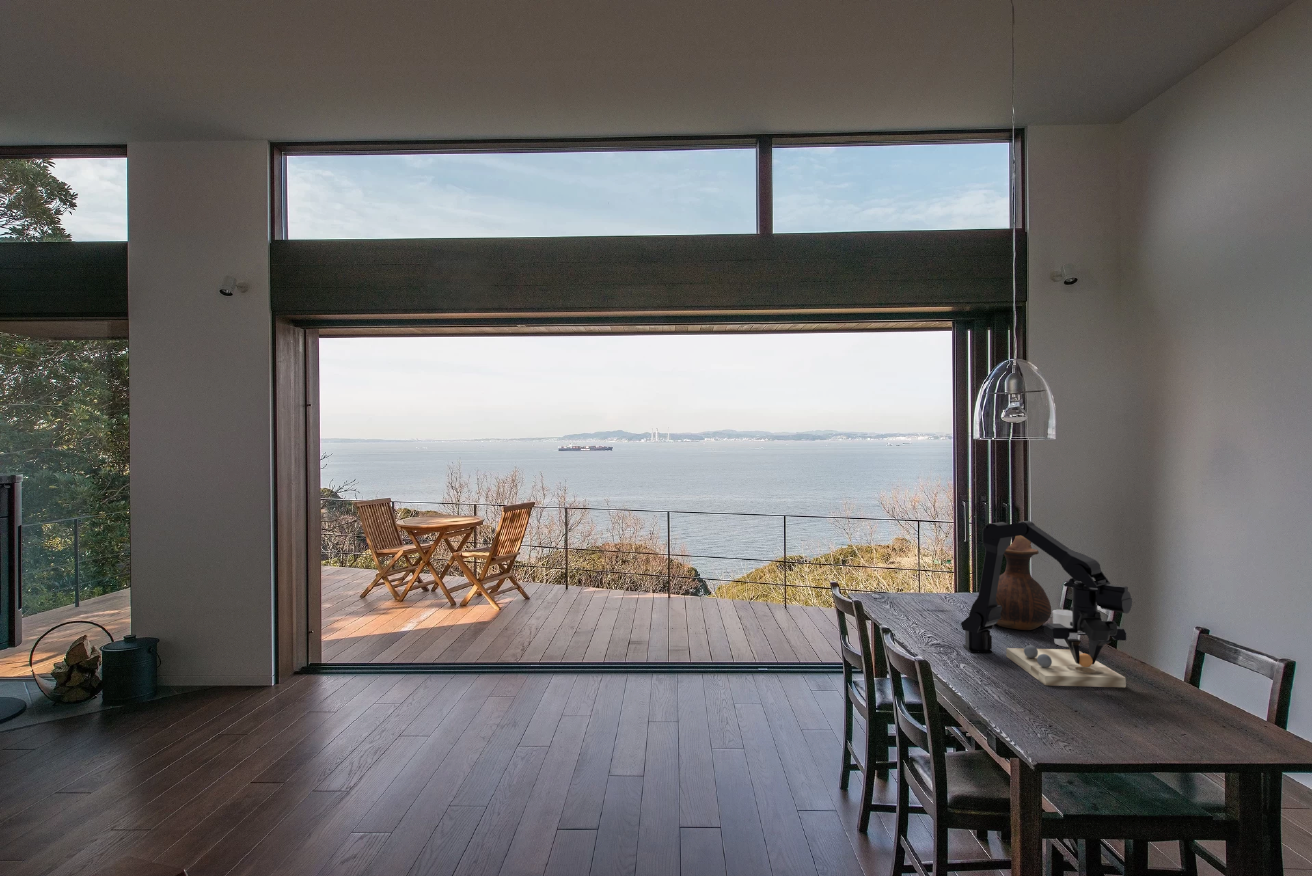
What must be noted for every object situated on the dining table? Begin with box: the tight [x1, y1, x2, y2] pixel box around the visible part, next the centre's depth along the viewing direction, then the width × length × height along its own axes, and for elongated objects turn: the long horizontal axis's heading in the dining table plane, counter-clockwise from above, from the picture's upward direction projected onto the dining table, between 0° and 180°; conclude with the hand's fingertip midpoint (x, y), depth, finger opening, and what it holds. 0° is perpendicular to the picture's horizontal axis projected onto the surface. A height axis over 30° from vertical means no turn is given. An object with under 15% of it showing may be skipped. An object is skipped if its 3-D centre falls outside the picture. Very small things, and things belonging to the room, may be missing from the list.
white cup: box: [1051, 609, 1082, 648], centre depth 218 cm, size 8×8×10 cm
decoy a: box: [1024, 644, 1038, 658], centre depth 196 cm, size 4×4×4 cm
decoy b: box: [1037, 654, 1052, 668], centre depth 188 cm, size 4×4×4 cm
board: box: [1005, 647, 1127, 688], centre depth 193 cm, size 20×24×2 cm
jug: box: [995, 535, 1052, 631], centre depth 240 cm, size 22×22×30 cm
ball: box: [1079, 652, 1093, 667], centre depth 187 cm, size 4×4×4 cm
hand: (1084, 663), depth 187 cm, fingers closed on ball, 3 cm apart
